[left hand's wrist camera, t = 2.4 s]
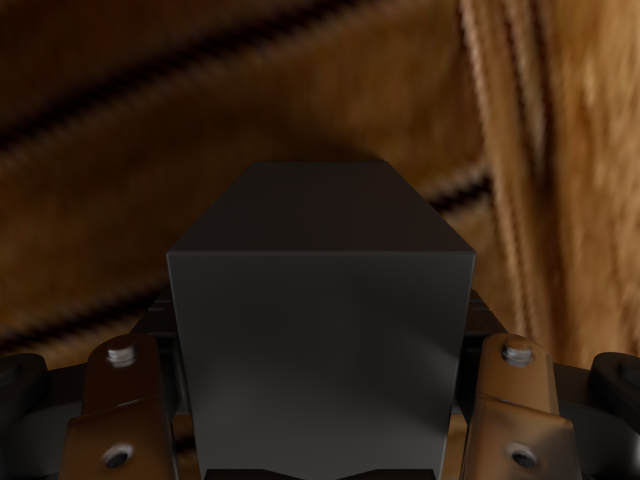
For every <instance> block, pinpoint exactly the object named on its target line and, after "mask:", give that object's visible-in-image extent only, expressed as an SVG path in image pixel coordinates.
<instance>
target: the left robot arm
mask: <svg viewBox="0 0 640 480" xmlns="http://www.w3.org/2000/svg"><path fill="white" fill-rule="evenodd" d="M451 414H463V416H464V418H465V421H466V423H467V425H468V426H467V431H466V437H465V444H464V450H463V457H462V464H461V470H460V477H459V480H640V358H638V357H635V356H632V355H628V354H623V353H617V352H605V353H601V354H598V355H597V356H595V358H594V360H593V363H592V367H591V370H586V369H581V368H576V367H571V366H566V365H561V364H557V363H553V362H552V358H551V356H550V354H549V353H548V351H547V350H546V349H545V348H543V347H542V346H541V345H539V344H538V343H536V342H534V341H532V340H530V339H528V338H525V337H522V336H519V335H515V334H509V333H508V332H507V331H506V329H505V328H504V327H503V326H502V324H501V323H500V322H499V321H498V319H497V318H496V317H495V315H494V314H493V313H492V312H491V311H489V308H488V307H487V305H486V304H485V303H484V302H483V300H482V299H481V298H480V296H479V295H478V294H477V293H476V291H475V290H473V289H472V288H471V292H470V299H469V305H468V311H467V317H466V324H465V330H464V336H463V342H462V349H461V355H460V361H459V367H458V374H457V380H456V386H455V392H454V399H453V405H452V411H451ZM174 415H191V410H190V404H189V397H188V391H187V385H186V378H185V372H184V366H183V359H182V353H181V347H180V340H179V334H178V327H177V321H176V315H175V308H174V302H173V296H172V289H171V286H170V287H169V288H167V289H165V290H164V291H162V293H161V294H160V295H159V296H158V298H157V299H156V300H155V303H153V304H152V305H151V306H150V308H149V309H148V311H146V313H145V314H144V315H143V316H142V318H141V319H140V320H139V321H138V323H137V324H136V325H135V327H134V328H133V329H132V330H131V332H130V333H129V334H125V335H121V336H118V337H115V338H112V339H110V340H108V341H106V342H104V343H102V344H101V345H99V346H98V347H97V348H95V349H94V350H93V351H92V353H91V354H90V356H89V358H88V362H87V363H84V364H79V365H75V366H70V367H65V368H60V369H55V370H50V371H48V369H47V366H46V363H45V360H44V358H43V357H42V356H40V355H38V354H33V353H23V354H16V355H11V356H7V357H4V358H1V359H0V480H181V477H180V470H179V464H178V457H177V450H176V444H175V437H174V431H173V426H172V419H173V417H174ZM204 480H304V479H300V478H296V477H292V476H288V475H284V474H280V473H277V472H273V471H269V470H265V469H207V471H206V474H205V477H204ZM336 480H436V477H435V474H434V471H433V469H375V470H371V471H367V472H363V473H360V474H356V475H352V476H348V477H344V478H340V479H336Z"/></svg>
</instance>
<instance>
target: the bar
mask: <svg viewBox="0 0 640 480" xmlns="http://www.w3.org/2000/svg"><path fill="white" fill-rule="evenodd" d="M166 257H167V264H168V270H169V276H170V283H171V289H172V296H173V302H174V308H175V315H176V321H177V327H178V334H179V340H180V347H181V353H182V359H183V366H184V372H185V378H186V385H187V391H188V397H189V404H190V410H191V417H192V423H193V429H194V436H195V442H196V448H197V455H198V461H199V468H200V474H201V480H204V477H205V474H206V471H207V469H265V470H269V471H273V472H277V473H280V474H284V475H288V476H292V477H296V478H300V479H304V480H336V479H340V478H344V477H348V476H352V475H356V474H360V473H363V472H367V471H371V470H375V469H433V471H434V474H435V477H436V480H441V474H442V468H443V461H444V455H445V449H446V443H447V436H448V430H449V424H450V417H451V411H452V405H453V399H454V392H455V386H456V380H457V374H458V367H459V361H460V355H461V349H462V342H463V336H464V330H465V324H466V317H467V311H468V305H469V299H470V292H471V286H472V280H473V274H474V267H475V261H476V251H475V250H474V249H473V248H472V247H471V246H470V245H469V244H468V243H467V242H466V241H465V240H464V239H463V238H462V237H461V236H460V235H459V234H458V233H457V232H456V231H455V230H454V229H453V228H452V227H451V226H450V225H449V224H448V223H447V222H446V221H445V220H444V219H443V218H442V217H441V216H440V215H439V214H438V213H437V212H436V211H435V210H434V209H433V208H432V207H431V206H430V205H429V204H428V203H427V202H426V200H425V199H424V198H423V197H422V196H421V195H420V194H419V193H418V192H417V191H416V190H415V189H414V188H413V187H412V186H411V185H410V184H409V183H408V182H407V181H406V180H405V179H404V178H403V177H402V176H401V175H400V174H399V173H398V172H397V171H396V170H395V169H394V168H393V167H392V166H391V165H390V164H389V163H388V162H386V161H255V162H253V163H252V164H251V165H250V166H249V167H248V168H247V169H246V170H245V171H244V172H243V173H242V175H241V176H240V177H239V178H238V179H237V180H236V181H235V182H234V183H233V184H232V185H231V186H230V187H229V188H228V189H227V190H226V191H225V192H224V193H223V194H222V195H221V196H220V197H219V198H218V199H217V200H216V201H215V202H214V203H213V204H212V205H211V206H210V207H209V208H208V210H207V211H206V212H205V213H204V214H203V215H202V216H201V217H200V218H199V219H198V220H197V221H196V222H195V223H194V224H193V225H192V226H191V227H190V228H189V229H188V230H187V231H186V232H185V233H184V234H183V235H182V236H181V237H180V238H179V239H178V240H177V241H176V242H175V244H174V245H173V246H172V247H171V248H170V249H169V250H168V251H167V253H166Z"/></svg>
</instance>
